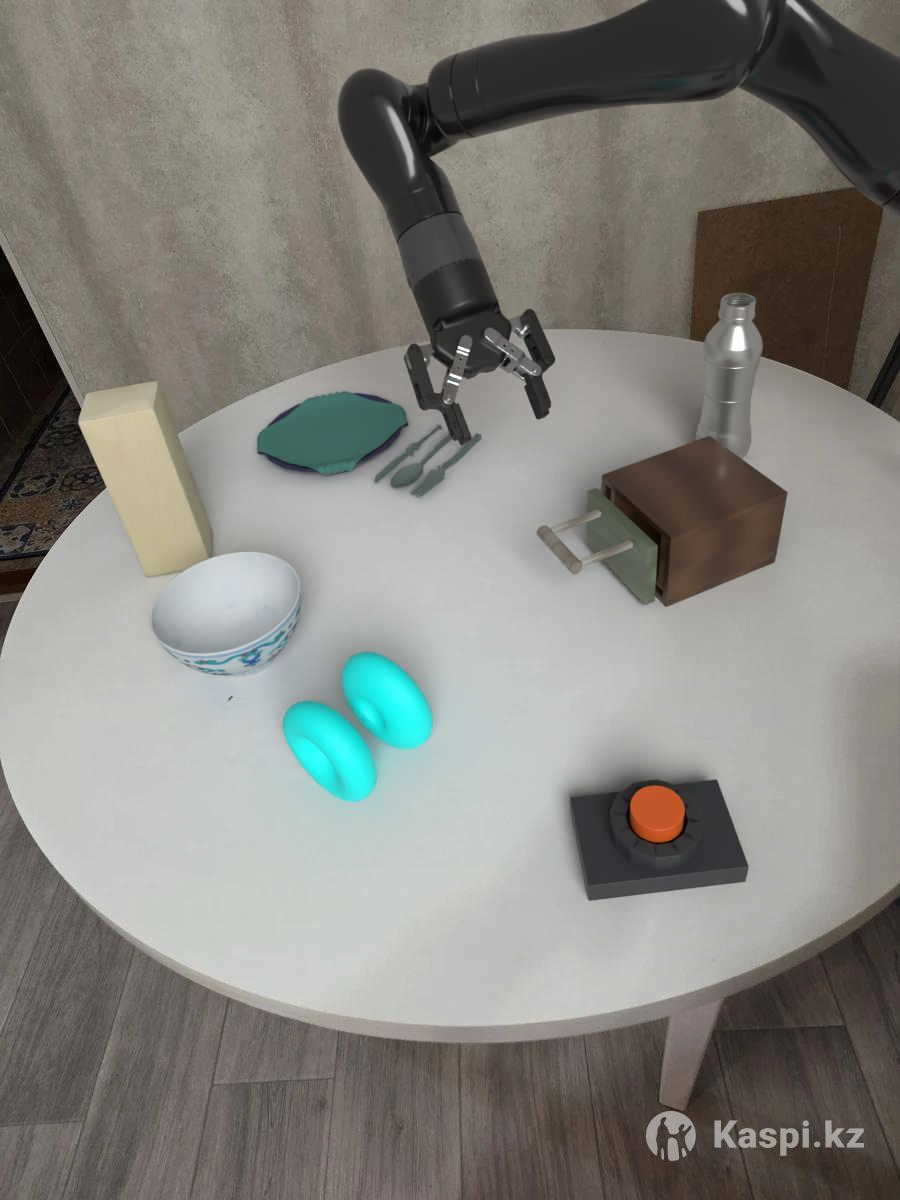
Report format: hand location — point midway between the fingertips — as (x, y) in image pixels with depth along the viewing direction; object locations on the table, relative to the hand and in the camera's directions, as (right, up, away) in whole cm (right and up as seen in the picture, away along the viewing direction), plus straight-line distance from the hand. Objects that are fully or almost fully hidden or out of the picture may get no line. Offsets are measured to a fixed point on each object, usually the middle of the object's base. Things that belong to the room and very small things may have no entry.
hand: (505, 429), depth 85 cm
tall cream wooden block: (-38, -11, +20) cm, 44 cm away
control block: (+11, -36, -17) cm, 41 cm away
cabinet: (+20, -12, +9) cm, 25 cm away
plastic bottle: (+28, +1, +22) cm, 35 cm away
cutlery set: (-17, +4, +33) cm, 37 cm away
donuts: (-13, -32, -7) cm, 35 cm away
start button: (+10, -34, -19) cm, 40 cm away
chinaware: (-27, -23, +5) cm, 35 cm away
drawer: (+14, -13, +7) cm, 21 cm away
